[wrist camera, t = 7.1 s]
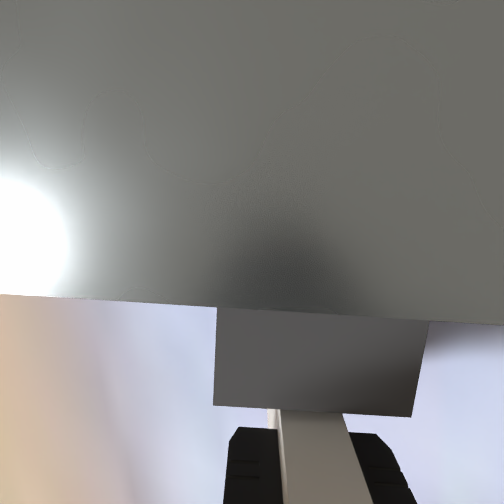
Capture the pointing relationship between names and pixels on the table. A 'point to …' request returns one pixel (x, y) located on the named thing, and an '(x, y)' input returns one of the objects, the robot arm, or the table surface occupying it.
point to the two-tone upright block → (317, 362)
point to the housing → (256, 154)
